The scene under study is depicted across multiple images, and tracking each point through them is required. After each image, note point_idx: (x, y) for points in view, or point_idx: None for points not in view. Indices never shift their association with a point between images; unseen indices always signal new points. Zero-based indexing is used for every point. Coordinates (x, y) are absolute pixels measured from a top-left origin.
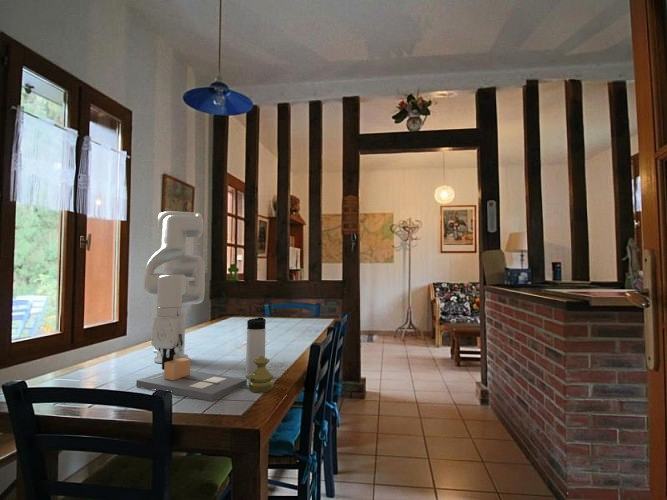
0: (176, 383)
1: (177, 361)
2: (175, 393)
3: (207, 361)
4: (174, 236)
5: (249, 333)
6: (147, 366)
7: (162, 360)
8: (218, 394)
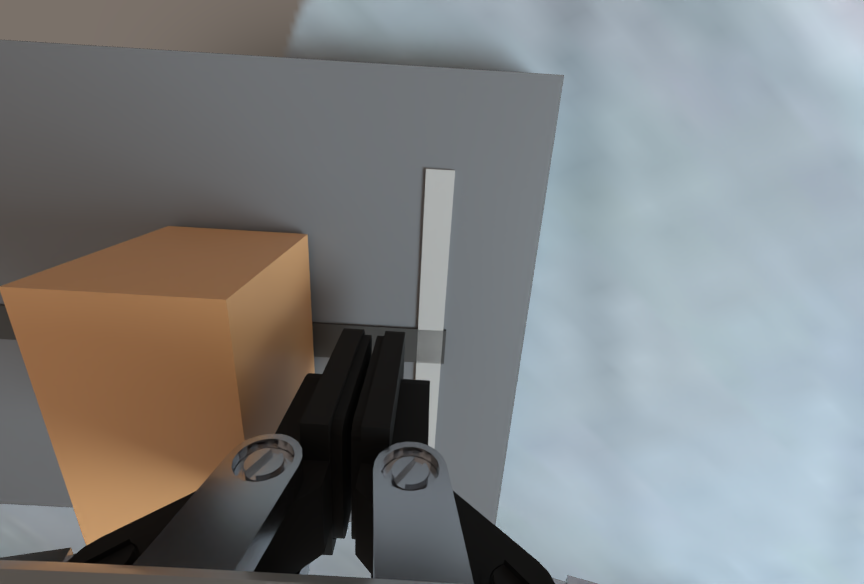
0: (56, 161)
1: (118, 424)
2: None
3: None
4: None
5: None
6: (851, 554)
7: (385, 393)
8: None
